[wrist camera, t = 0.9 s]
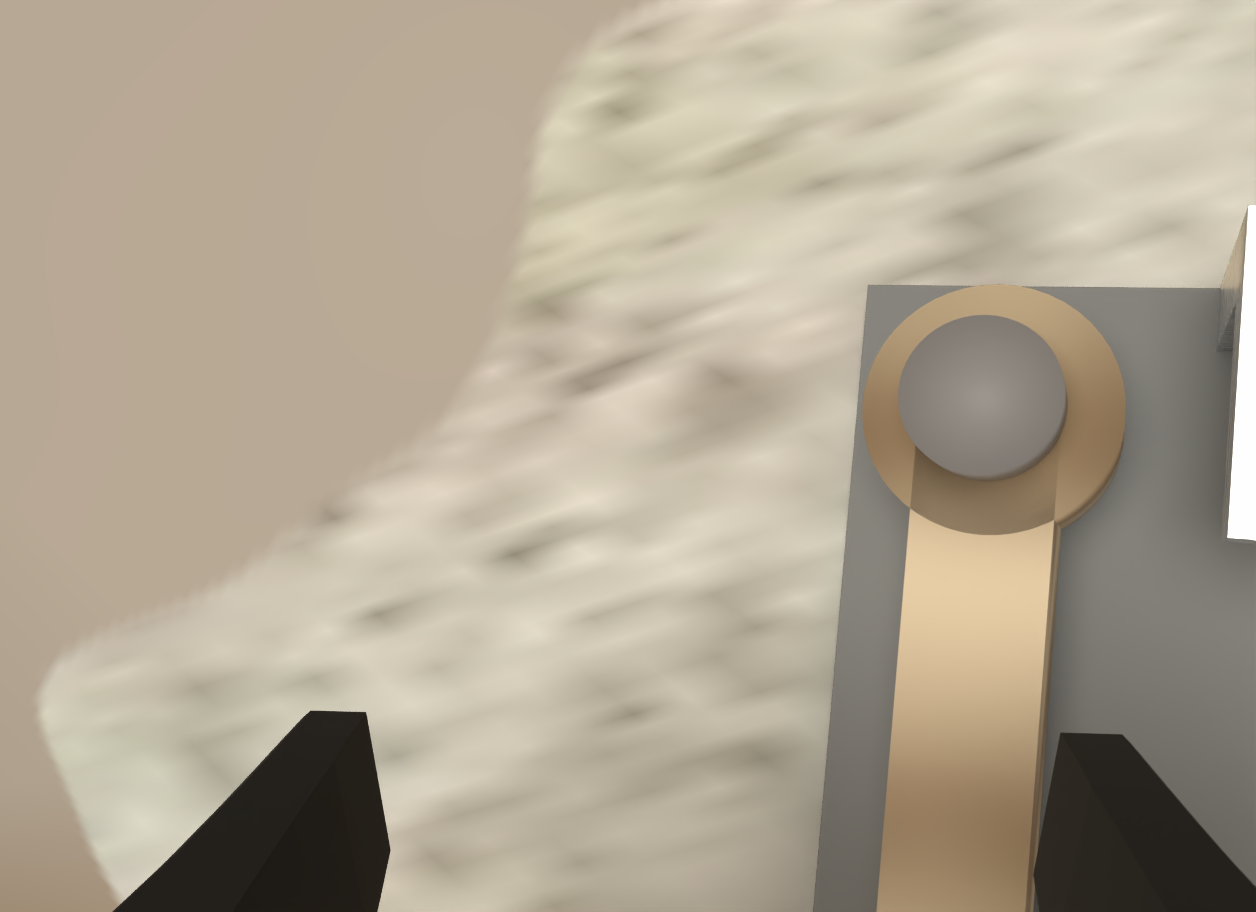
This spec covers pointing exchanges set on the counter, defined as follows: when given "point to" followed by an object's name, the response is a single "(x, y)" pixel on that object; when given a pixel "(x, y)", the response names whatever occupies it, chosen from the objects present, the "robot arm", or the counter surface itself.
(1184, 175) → the counter surface
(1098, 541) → the base plate
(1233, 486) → the keeper
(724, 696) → the counter surface
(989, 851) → the link
